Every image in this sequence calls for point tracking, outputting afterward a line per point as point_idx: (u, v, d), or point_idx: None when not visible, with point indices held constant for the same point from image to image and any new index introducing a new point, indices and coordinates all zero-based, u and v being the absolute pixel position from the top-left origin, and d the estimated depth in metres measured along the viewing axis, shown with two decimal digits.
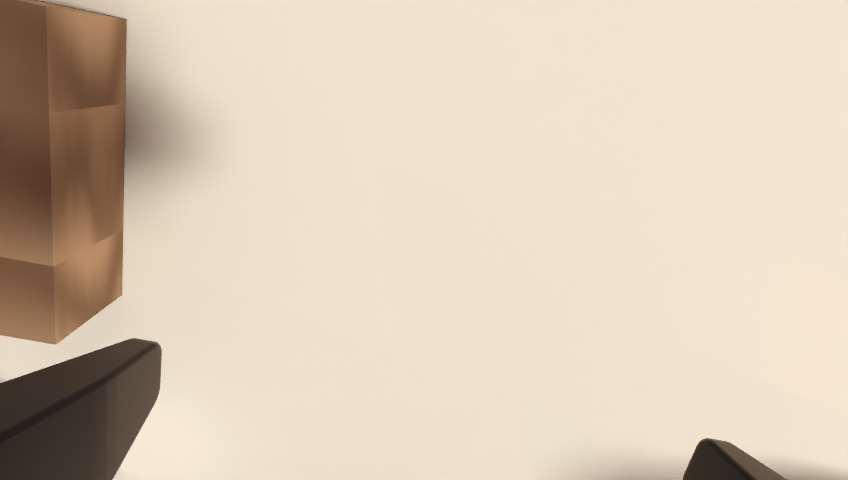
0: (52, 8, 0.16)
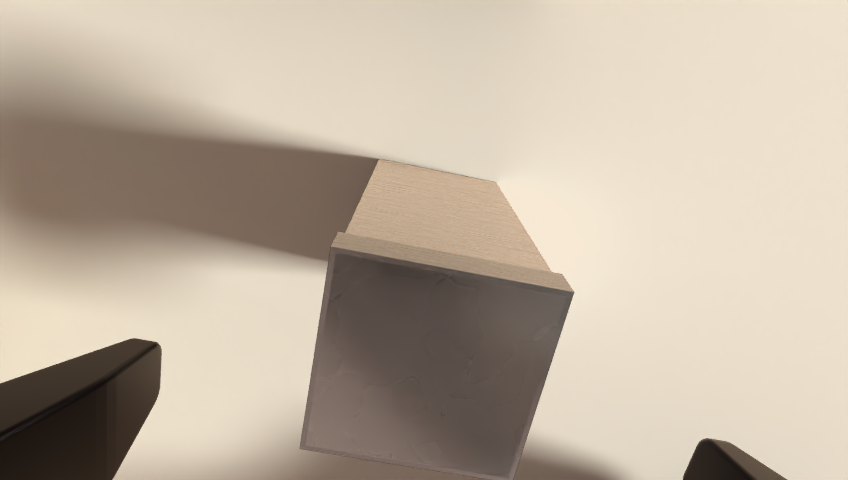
0: None
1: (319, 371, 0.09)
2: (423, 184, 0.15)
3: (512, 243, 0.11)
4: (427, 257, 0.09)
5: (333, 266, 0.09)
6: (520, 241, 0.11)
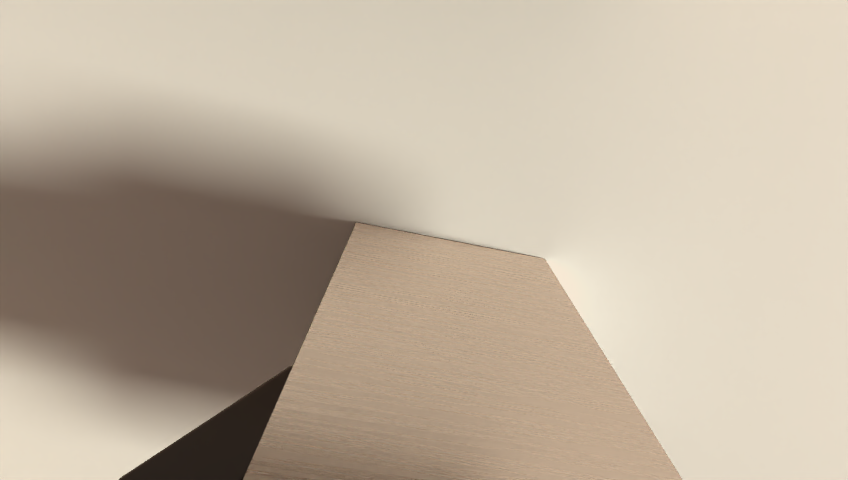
0: None
1: None
2: (428, 285, 0.08)
3: None
4: None
5: None
6: None
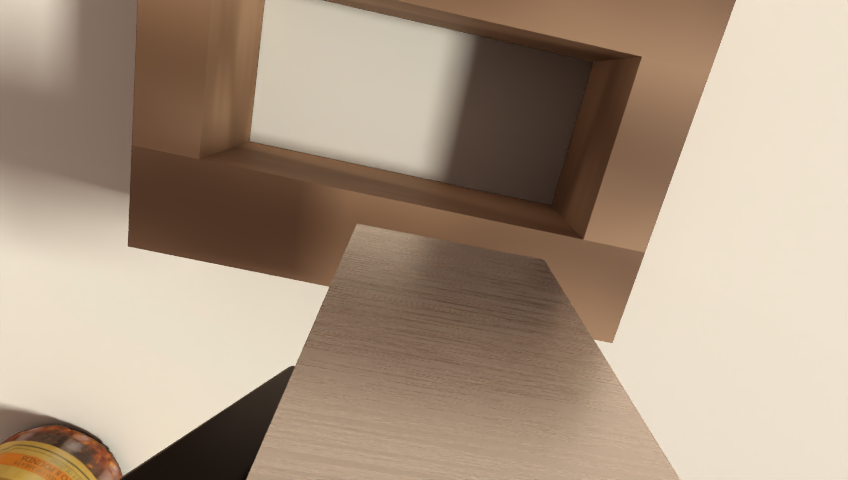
0: None
1: None
2: (428, 286, 0.08)
3: None
4: None
5: None
6: None
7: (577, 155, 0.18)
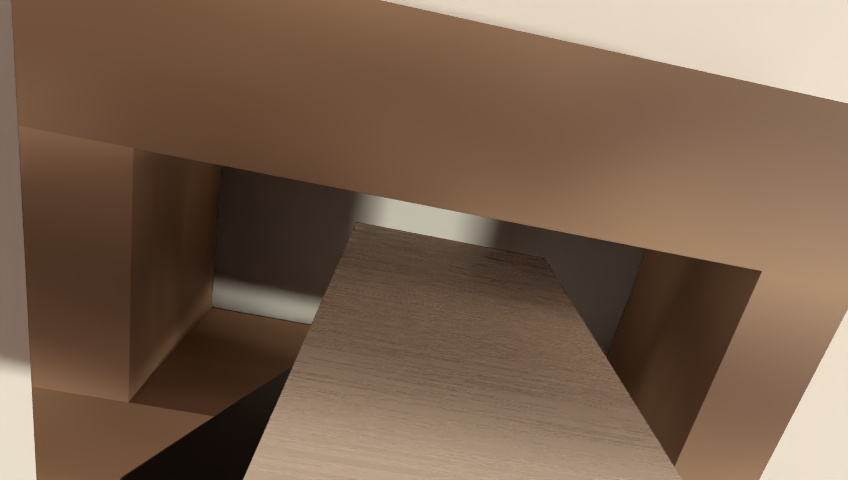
0: None
1: None
2: (428, 284, 0.08)
3: None
4: None
5: None
6: None
7: (641, 337, 0.14)
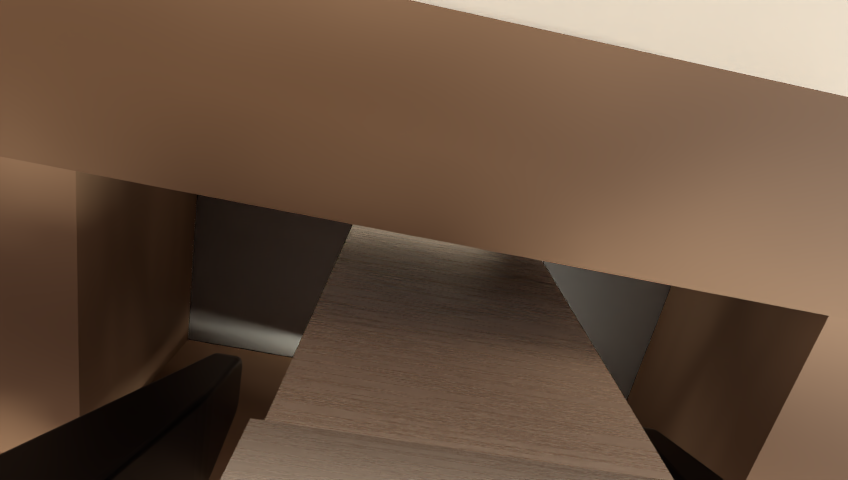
0: None
1: None
2: (423, 247, 0.10)
3: (577, 381, 0.06)
4: None
5: None
6: (587, 372, 0.07)
7: (671, 376, 0.12)
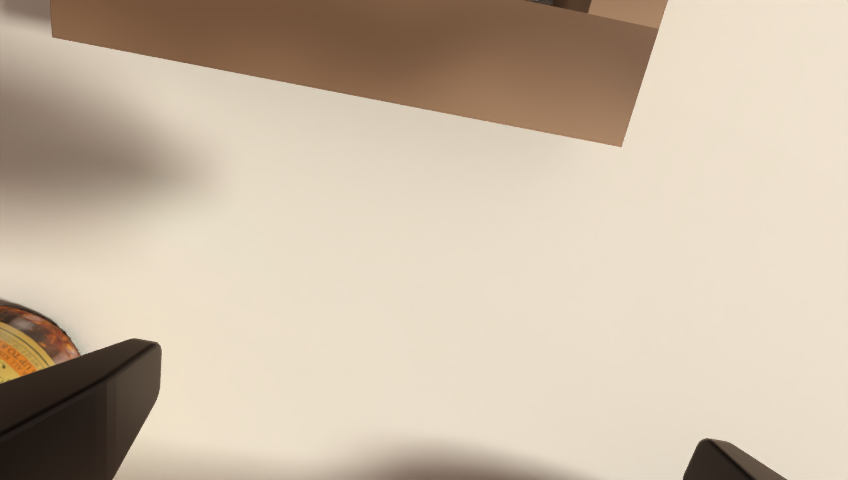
0: None
1: None
2: None
3: None
4: None
5: None
6: None
7: None
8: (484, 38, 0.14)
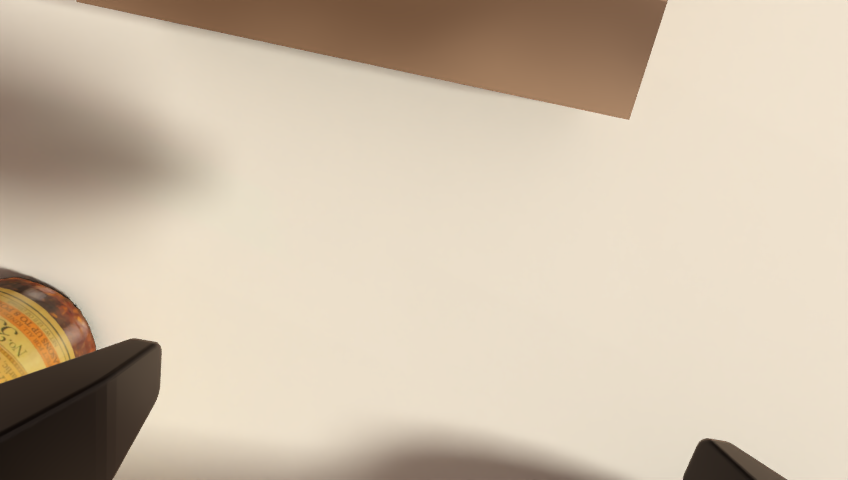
0: None
1: None
2: None
3: None
4: None
5: None
6: None
7: None
8: (496, 8, 0.14)
